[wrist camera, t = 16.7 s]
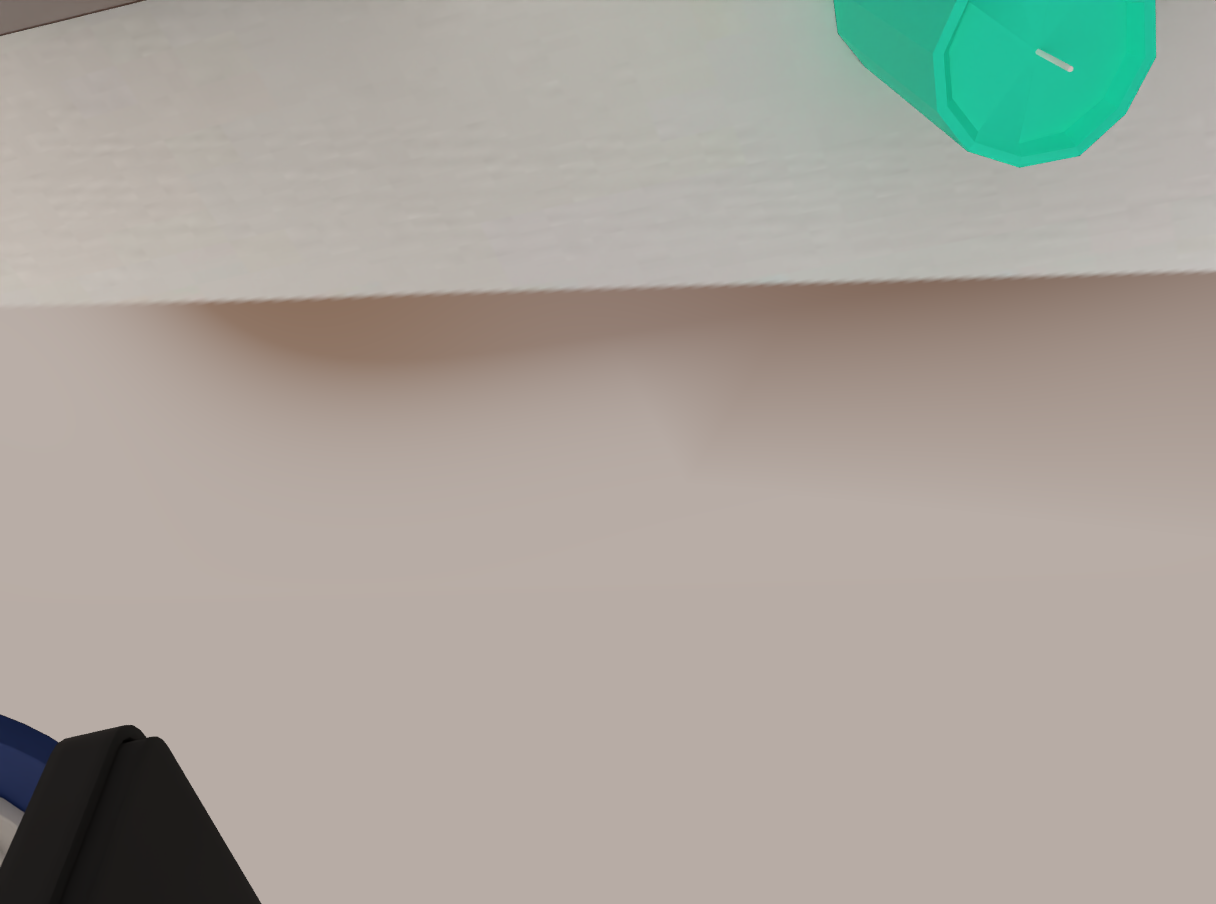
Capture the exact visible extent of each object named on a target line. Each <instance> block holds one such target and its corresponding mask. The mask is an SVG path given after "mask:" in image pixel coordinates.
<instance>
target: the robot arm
mask: <svg viewBox="0 0 1216 904" xmlns="http://www.w3.org/2000/svg"><path fill="white" fill-rule="evenodd" d="M0 904H261V903H260V901H259V899H258V897H257V896H256V894H255V892H254V891H253V889H252V887H251V885H250V884H249V882H248V881H247V879H246V877H245V875H244V874H243V872H242V871H241V869H240V867H239V865H238V864H237V862H236V860H235V859H234V857H233V855H232V853H231V852H230V850H229V849H228V847H227V845H226V844H225V842H224V840H223V838H222V837H221V835H220V833H219V832H218V830H217V828H216V827H215V825H214V823H213V821H212V820H211V818H210V816H209V815H208V813H207V811H206V810H205V808H204V806H203V805H202V803H201V801H200V800H199V798H198V796H197V795H196V793H195V791H194V789H193V788H192V786H191V785H190V783H189V781H188V779H187V778H186V776H185V774H184V773H183V771H182V769H181V768H180V766H179V764H178V763H177V761H176V759H175V757H174V756H173V754H172V752H171V751H170V749H169V747H168V746H167V745H166V743H165V742H164V741H163V740H162V739H160V738H159V737H149V738H146V736H145V735H144V734H143V733H142V732H141V730H140V729H138V728H136V727H135V726H133V725H124V726H119V727H115V728H111V729H106V730H102V731H97V732H93V733H89V734H84V735H80V736H75V737H71V738H67V739H64V740H63V741H61V742H59V743H58V744H57V745H56V746H55V748H54V750H53V751H52V753H51V754H50V757H49V759H48V761H47V763H46V766H45V768H44V770H43V772H42V775H41V777H40V779H39V781H38V784H37V786H36V788H35V790H34V792H33V795H32V797H31V799H30V801H29V804H28V806H27V808H26V810H25V813H24V812H23V811H21V810H20V809H18V808H17V807H15V806H14V805H12V804H11V803H10V802H8V801H7V800H5V799H3V798H1V797H0Z"/></svg>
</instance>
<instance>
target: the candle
mask: <svg viewBox="0 0 1216 904" xmlns="http://www.w3.org/2000/svg"><path fill="white" fill-rule="evenodd" d="M834 7H835V14H836V22H837V30H838V34H839V35H840V36H841V38H842V39H843V40H844V41H845V43H846V44H847V45H848V46H849V48H850V49H851V50H852V51H853V53H854V54H855V55H856V56H857V58H858V59H859V60H860V61H861V62H862V64H863V65H864V66H865V67H866V68H867V69H868V70H870V71H871V72H872V73H873V74H874V75H876V76H877V77H878V78H879V79H881V80H882V81H883V82H884V83H885V84H887V85H888V86H889V87H890V88H891V89H893V90H894V91H895V92H896V93H897V94H899V95H900V96H901V97H902V98H904V99H905V100H906V101H907V102H908V103H910V104H911V105H912V106H913V107H914V108H916V109H917V110H918V111H919V112H921V113H922V114H923V115H924V116H925V117H927V118H928V119H929V120H930V121H931V122H933V123H934V124H935V125H936V126H937V127H939V128H940V129H941V130H942V131H944V132H945V133H946V134H947V135H948V136H950V137H951V138H952V139H953V140H954V141H956V142H957V143H958V144H959V145H960V146H962V147H963V148H964V149H965V150H967V151H968V152H971V153H974V154H978V155H981V156H984V157H987V158H991V159H994V160H997V161H1000V162H1003V163H1007V164H1010V165H1013V166H1016V167H1019V168H1020V167H1025V166H1030V165H1036V164H1041V163H1046V162H1051V161H1056V160H1061V159H1066V158H1072V157H1077V156H1080V155H1081V154H1082V153H1083V152H1084V151H1086V150H1087V149H1088V148H1089V147H1090V146H1091V145H1092V144H1093V143H1094V142H1095V141H1097V140H1098V139H1099V138H1100V137H1101V136H1102V135H1103V134H1104V133H1105V132H1106V131H1107V130H1109V129H1110V128H1111V127H1112V126H1113V125H1114V124H1115V123H1116V122H1117V121H1118V120H1120V119H1121V118H1122V117H1123V116H1124V115H1125V114H1126V112H1127V110H1128V109H1129V107H1130V105H1131V103H1132V101H1133V99H1134V97H1135V95H1136V94H1137V92H1138V90H1139V88H1140V86H1141V84H1142V82H1143V80H1144V79H1145V77H1146V75H1147V73H1148V71H1149V69H1150V67H1151V66H1152V64H1153V62H1154V60H1155V58H1156V9H1155V0H834Z"/></svg>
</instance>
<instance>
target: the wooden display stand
mask: <svg viewBox="0 0 1216 904" xmlns="http://www.w3.org/2000/svg"><path fill="white" fill-rule="evenodd" d="M141 1H145V0H0V36H3V35H7V34H11V33H15V32H19V31H23V30H27V29H31V28H35V27H39V26H43V25H47V24H51V23H56V22H60V21H64V20H68V19H72V18H76V17H80V16H84V15H88V14H92V13H96V12H100V11H104V10H109V9H113V8H117V7H121V6H125V5H129V4H133V3H137V2H141Z"/></svg>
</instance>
